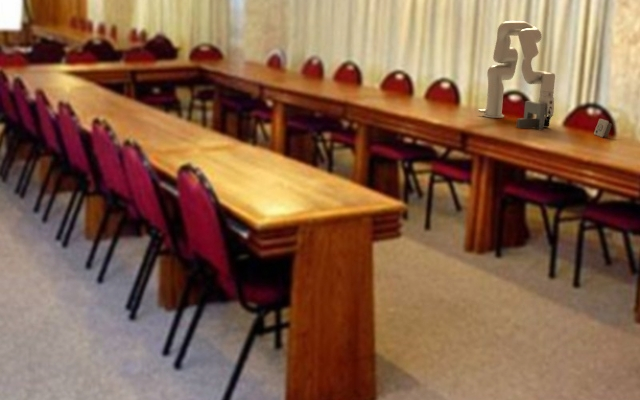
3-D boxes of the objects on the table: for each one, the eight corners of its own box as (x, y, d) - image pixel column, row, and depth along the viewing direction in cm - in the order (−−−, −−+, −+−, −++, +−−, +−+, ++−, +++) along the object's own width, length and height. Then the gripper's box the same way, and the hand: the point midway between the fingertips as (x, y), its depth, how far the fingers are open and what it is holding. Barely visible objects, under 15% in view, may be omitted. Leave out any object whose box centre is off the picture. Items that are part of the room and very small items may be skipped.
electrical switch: (593, 134, 480) (596, 118, 478) (601, 135, 481) (605, 119, 479) (601, 137, 472) (604, 120, 469) (610, 138, 473) (613, 121, 470)
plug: (520, 128, 493) (521, 117, 492) (515, 126, 498) (516, 116, 496) (547, 127, 499) (548, 117, 498) (542, 126, 504) (543, 115, 502)
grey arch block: (538, 129, 491) (541, 105, 488) (523, 124, 506) (525, 101, 502) (543, 129, 492) (545, 104, 489) (527, 124, 507) (529, 100, 503)
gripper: (560, 96, 490) (557, 128, 494) (543, 92, 506) (540, 123, 510) (549, 96, 488) (546, 128, 492) (532, 92, 503) (529, 123, 507)
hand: (543, 125), depth 501 cm, fingers closed on plug, 4 cm apart
